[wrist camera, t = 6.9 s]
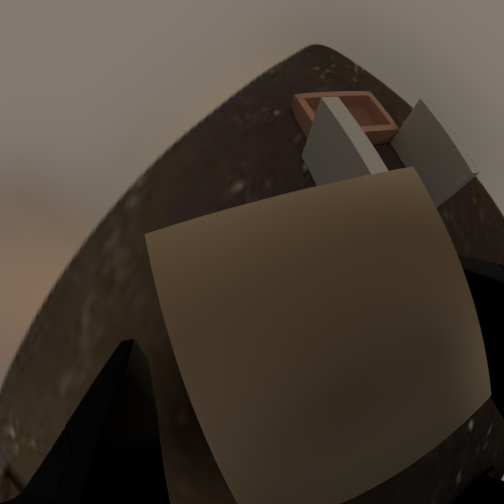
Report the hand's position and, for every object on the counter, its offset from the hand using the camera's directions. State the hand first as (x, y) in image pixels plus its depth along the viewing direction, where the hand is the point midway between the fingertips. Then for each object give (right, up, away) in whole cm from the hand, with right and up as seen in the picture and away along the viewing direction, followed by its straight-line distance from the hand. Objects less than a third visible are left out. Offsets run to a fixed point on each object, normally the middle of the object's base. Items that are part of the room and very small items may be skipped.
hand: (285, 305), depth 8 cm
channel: (+9, +7, +11) cm, 16 cm away
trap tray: (+7, +12, +13) cm, 19 cm away
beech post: (0, -3, +7) cm, 8 cm away
